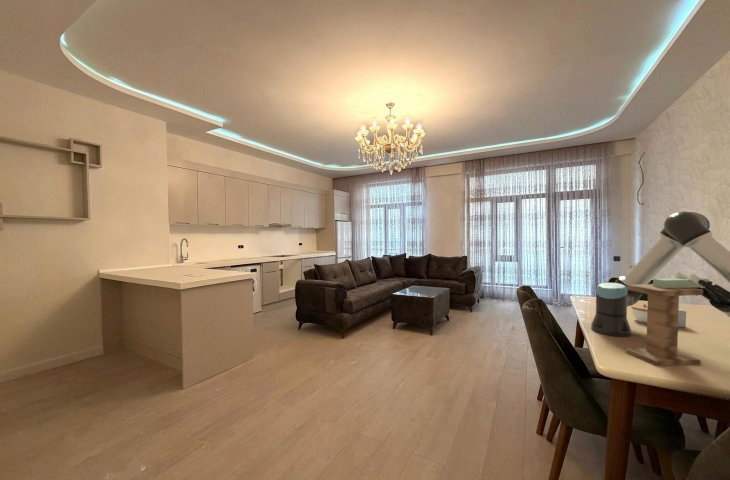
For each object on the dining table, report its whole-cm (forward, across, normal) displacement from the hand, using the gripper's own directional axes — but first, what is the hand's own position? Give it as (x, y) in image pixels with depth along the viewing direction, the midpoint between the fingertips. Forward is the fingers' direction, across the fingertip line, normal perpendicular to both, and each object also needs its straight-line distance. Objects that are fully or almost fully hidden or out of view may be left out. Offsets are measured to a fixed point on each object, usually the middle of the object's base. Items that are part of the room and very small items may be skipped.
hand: (683, 276), depth 114 cm
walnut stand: (-8, 0, -32) cm, 33 cm away
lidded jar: (-44, +42, -12) cm, 62 cm away
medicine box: (-50, +34, -8) cm, 61 cm away
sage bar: (-1, 0, -4) cm, 4 cm away
